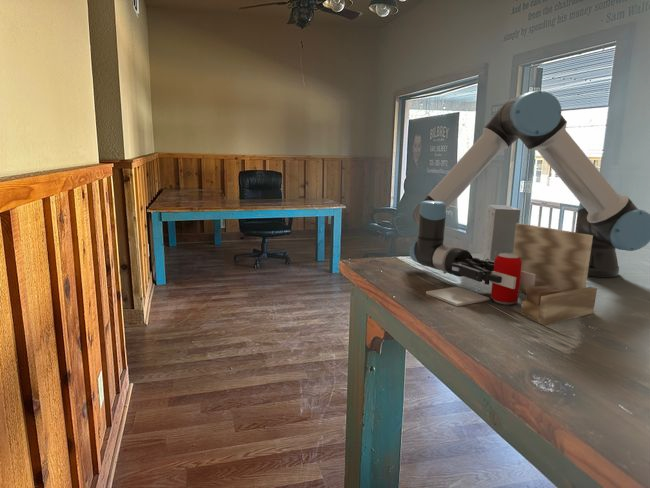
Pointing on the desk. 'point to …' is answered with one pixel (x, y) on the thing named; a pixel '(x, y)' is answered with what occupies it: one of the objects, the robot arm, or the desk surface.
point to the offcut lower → (530, 309)
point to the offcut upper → (539, 293)
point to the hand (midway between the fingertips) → (524, 281)
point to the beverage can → (511, 267)
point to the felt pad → (457, 296)
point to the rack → (557, 270)
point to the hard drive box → (500, 230)
